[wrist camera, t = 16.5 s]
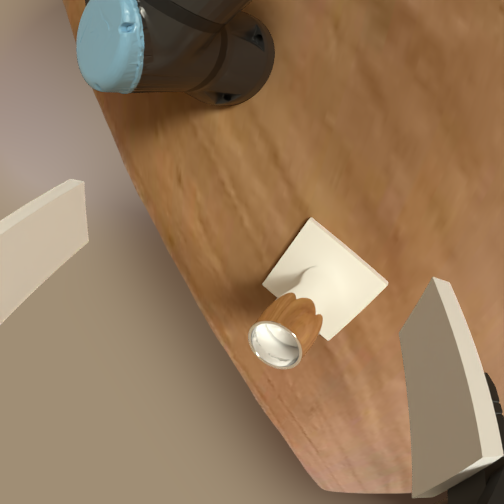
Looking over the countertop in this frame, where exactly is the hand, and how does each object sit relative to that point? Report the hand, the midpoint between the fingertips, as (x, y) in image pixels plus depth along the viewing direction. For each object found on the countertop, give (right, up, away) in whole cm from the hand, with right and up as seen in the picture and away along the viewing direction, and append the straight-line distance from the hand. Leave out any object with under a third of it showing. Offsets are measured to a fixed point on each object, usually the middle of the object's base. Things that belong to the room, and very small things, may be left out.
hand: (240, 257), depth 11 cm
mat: (+11, -4, +35) cm, 37 cm away
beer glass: (+10, -5, +34) cm, 36 cm away
